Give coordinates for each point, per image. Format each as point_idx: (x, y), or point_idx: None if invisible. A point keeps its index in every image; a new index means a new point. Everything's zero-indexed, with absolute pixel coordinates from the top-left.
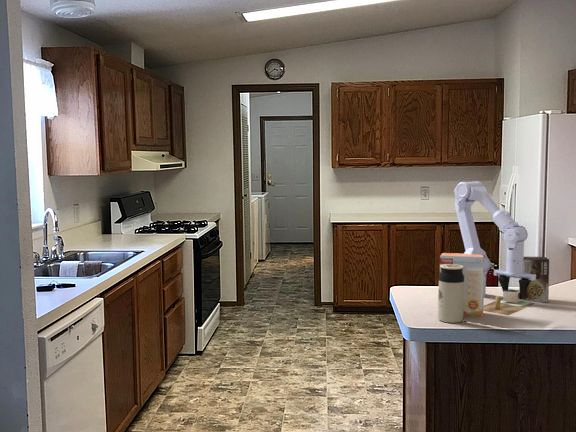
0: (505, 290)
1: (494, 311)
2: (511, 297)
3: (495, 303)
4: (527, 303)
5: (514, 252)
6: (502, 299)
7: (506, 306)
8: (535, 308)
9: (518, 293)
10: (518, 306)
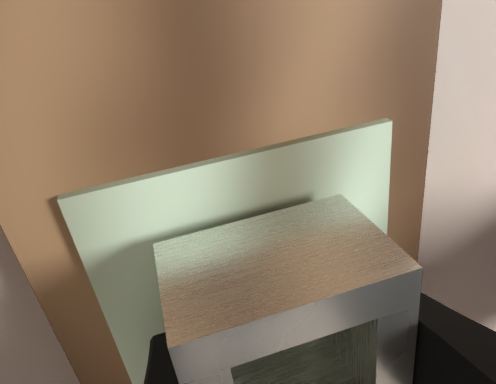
0: (412, 325)
1: None
2: (253, 258)
3: (383, 94)
4: (123, 362)
5: None
6: None
7: (203, 63)
8: (32, 358)
9: (175, 368)
10: (91, 187)
